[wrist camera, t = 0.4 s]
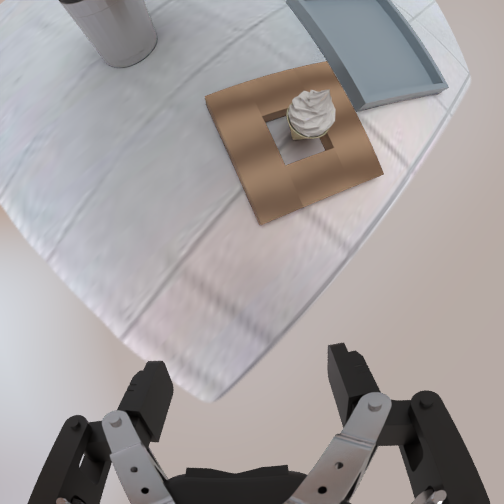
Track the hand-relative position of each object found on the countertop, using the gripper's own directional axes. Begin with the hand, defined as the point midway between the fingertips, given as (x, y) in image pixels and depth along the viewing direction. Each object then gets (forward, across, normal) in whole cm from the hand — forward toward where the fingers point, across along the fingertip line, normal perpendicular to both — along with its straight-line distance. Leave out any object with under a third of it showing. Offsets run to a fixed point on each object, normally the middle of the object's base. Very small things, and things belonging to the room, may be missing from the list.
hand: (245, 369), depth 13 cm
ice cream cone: (+29, -8, -12) cm, 32 cm away
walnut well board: (+28, -8, -12) cm, 32 cm away
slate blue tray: (+34, -24, -29) cm, 51 cm away
